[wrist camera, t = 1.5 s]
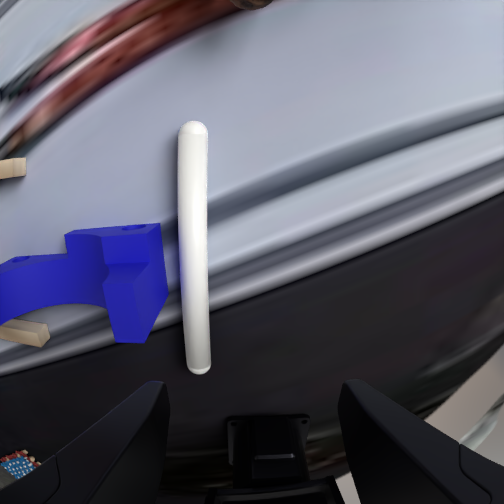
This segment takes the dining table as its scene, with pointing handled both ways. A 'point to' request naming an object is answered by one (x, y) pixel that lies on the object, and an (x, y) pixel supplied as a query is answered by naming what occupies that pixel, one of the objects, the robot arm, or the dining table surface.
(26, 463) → the woven mat
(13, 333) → the frame
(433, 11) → the dining table surface
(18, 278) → the cable clip
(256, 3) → the pottery mug
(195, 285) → the white peg
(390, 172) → the dining table surface
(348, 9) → the dining table surface
